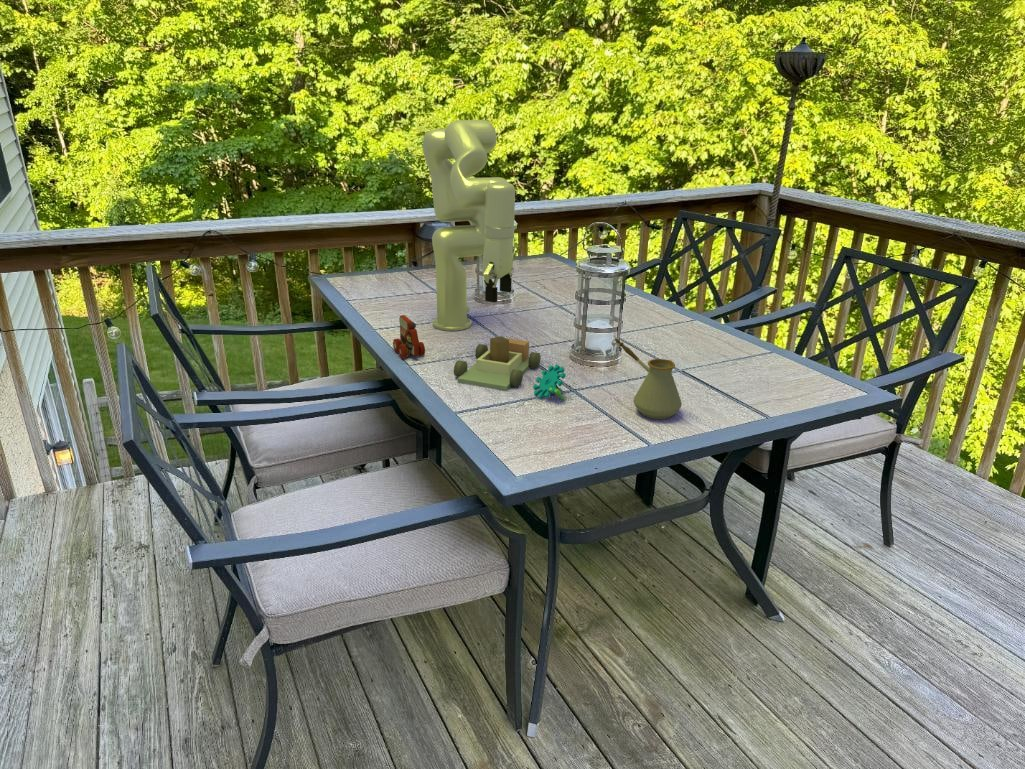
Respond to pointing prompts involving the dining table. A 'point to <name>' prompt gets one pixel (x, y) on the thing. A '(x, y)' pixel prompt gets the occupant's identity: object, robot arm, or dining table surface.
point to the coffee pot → (656, 388)
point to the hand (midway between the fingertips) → (498, 296)
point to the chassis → (498, 367)
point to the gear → (550, 382)
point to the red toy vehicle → (408, 339)
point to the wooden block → (499, 349)
